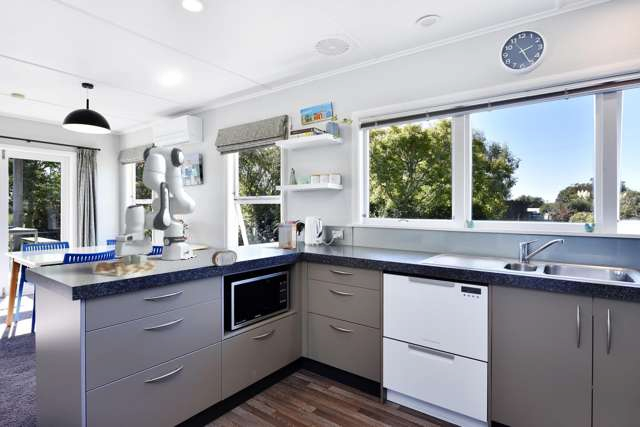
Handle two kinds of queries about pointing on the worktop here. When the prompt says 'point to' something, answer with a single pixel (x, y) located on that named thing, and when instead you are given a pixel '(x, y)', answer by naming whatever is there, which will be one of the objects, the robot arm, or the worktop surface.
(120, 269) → the track
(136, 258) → the slider
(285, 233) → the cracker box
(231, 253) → the tin
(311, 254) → the worktop surface
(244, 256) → the worktop surface
